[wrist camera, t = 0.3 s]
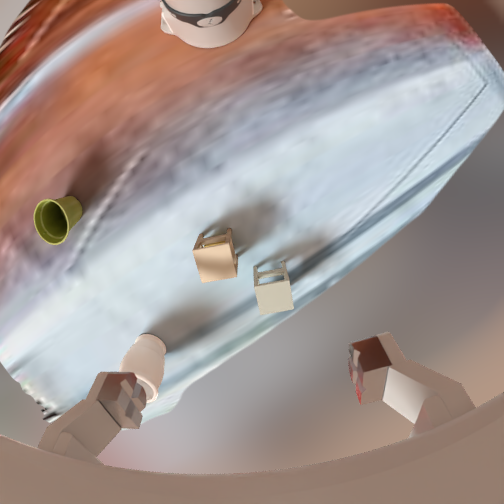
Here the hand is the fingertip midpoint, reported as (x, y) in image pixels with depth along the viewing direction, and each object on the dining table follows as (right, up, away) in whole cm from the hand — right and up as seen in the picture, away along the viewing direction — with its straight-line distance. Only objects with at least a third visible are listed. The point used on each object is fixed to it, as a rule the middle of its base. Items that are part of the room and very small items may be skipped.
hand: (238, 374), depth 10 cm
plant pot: (-38, +14, +45) cm, 61 cm away
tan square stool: (-6, +6, +49) cm, 49 cm away
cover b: (+5, -1, +52) cm, 52 cm away
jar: (-25, -19, +59) cm, 67 cm away
